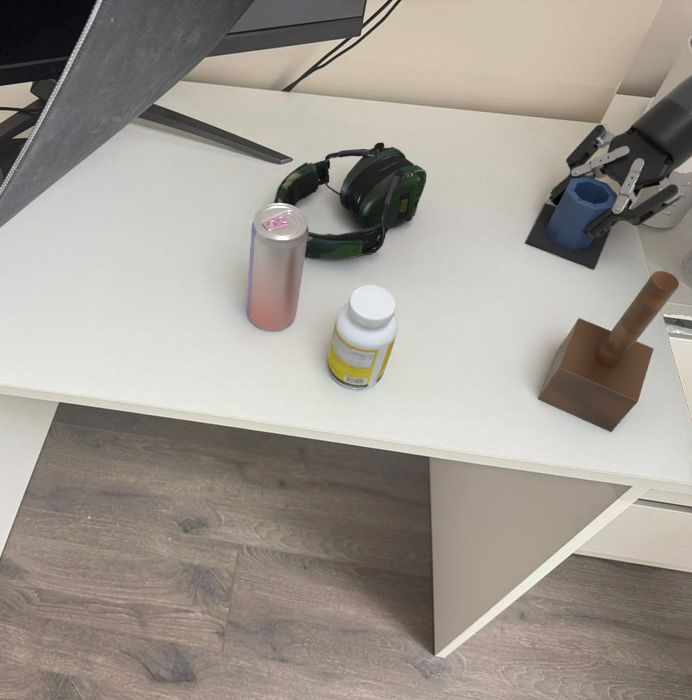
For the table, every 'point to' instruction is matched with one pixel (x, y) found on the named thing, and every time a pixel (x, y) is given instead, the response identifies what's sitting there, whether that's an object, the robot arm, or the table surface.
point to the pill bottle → (363, 337)
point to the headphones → (360, 198)
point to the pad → (544, 242)
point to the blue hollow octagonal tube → (579, 211)
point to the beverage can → (276, 265)
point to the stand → (607, 360)
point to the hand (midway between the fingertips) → (569, 218)
